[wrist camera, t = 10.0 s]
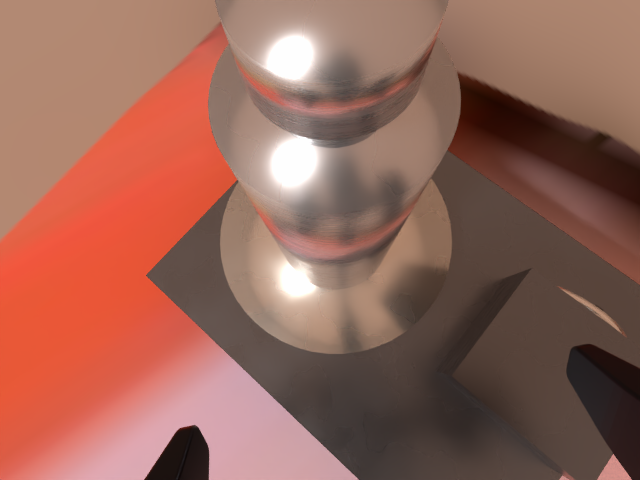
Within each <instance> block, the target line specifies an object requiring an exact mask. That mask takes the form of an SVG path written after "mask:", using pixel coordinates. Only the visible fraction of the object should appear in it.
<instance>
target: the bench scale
mask: <svg viewBox="0 0 640 480" xmlns="http://www.w3.org/2000/svg"><path fill="white" fill-rule="evenodd" d="M146 276H147V277H148V278H149V279H150V280H151V281H152V282H153V283H154V284H155V285H156V286H157V287H158V288H159V289H161V290H162V291H163V292H164V293H165V294H166V295H167V296H168V297H169V298H170V299H171V300H172V301H173V302H174V303H175V304H176V305H177V306H178V307H179V308H180V309H181V310H182V311H184V312H185V313H186V314H187V315H188V316H189V317H190V318H191V319H192V320H193V321H194V322H195V323H196V324H197V325H198V326H199V327H200V328H201V329H202V330H203V331H204V332H205V333H206V334H208V335H209V336H210V337H211V338H212V339H213V340H214V341H215V342H216V343H217V344H218V345H219V346H220V347H221V348H222V349H223V350H224V351H225V352H226V353H227V354H228V355H229V356H230V357H232V358H233V359H234V360H235V361H236V362H237V363H238V364H239V365H240V366H241V367H242V368H243V369H244V370H245V371H246V372H247V373H248V374H249V375H250V376H251V377H252V378H253V379H255V380H256V381H257V382H258V383H259V384H260V385H261V386H262V387H263V388H264V389H265V390H266V391H267V392H268V393H269V394H270V395H271V396H272V397H273V398H274V399H275V400H276V401H277V402H279V403H280V404H281V405H282V406H283V407H284V408H285V409H286V410H287V411H288V412H289V413H290V414H291V415H292V416H293V417H294V418H295V419H296V420H297V421H298V422H299V423H300V424H301V425H303V426H304V427H305V428H306V429H307V430H308V431H309V432H310V433H311V434H312V435H313V436H314V437H315V438H316V439H317V440H318V441H319V442H320V443H321V444H322V445H323V446H324V447H326V448H327V449H328V450H329V451H330V452H331V453H332V454H333V455H334V456H335V457H336V458H337V459H338V460H339V461H340V462H341V463H342V464H343V465H344V466H345V467H346V468H347V469H348V470H350V471H351V472H352V473H353V474H354V475H355V476H356V477H357V478H358V479H359V480H559V479H560V478H561V476H562V475H563V476H564V477H566V478H568V479H569V480H597V478H598V477H599V475H600V474H601V472H602V470H603V469H604V467H605V466H606V464H607V463H608V461H609V459H610V458H611V456H612V455H613V452H612V451H611V449H610V448H609V447H608V445H607V444H606V442H605V441H604V439H603V437H602V436H601V434H600V432H599V431H598V429H597V427H596V426H595V424H594V422H593V421H592V419H591V417H590V415H589V414H588V412H587V410H586V409H585V407H584V405H583V404H582V402H581V400H580V398H579V397H578V395H577V393H576V392H575V390H574V388H573V387H572V385H571V383H570V381H569V379H568V377H567V374H566V368H567V363H568V358H569V354H570V350H571V348H572V347H574V346H578V345H583V344H592V345H595V346H597V347H599V348H601V349H603V350H605V351H607V352H609V353H611V354H613V355H615V356H617V357H619V358H621V359H623V360H625V361H627V362H629V363H631V364H633V365H635V366H637V367H639V368H640V285H639V284H637V283H636V282H635V281H633V280H632V279H630V278H629V277H627V276H626V275H625V274H623V273H622V272H620V271H619V270H617V269H616V268H615V267H613V266H612V265H610V264H609V263H607V262H606V261H605V260H603V259H602V258H600V257H599V256H597V255H596V254H595V253H593V252H592V251H590V250H589V249H588V248H586V247H585V246H583V245H582V244H580V243H579V242H578V241H576V240H575V239H573V238H572V237H570V236H569V235H568V234H566V233H565V232H563V231H562V230H560V229H559V228H558V227H556V226H555V225H553V224H552V223H550V222H549V221H548V220H546V219H545V218H543V217H542V216H540V215H539V214H538V213H536V212H535V211H533V210H532V209H530V208H529V207H528V206H526V205H525V204H523V203H522V202H521V201H519V200H518V199H516V198H515V197H513V196H512V195H511V194H509V193H508V192H506V191H505V190H503V189H502V188H501V187H499V186H498V185H496V184H495V183H493V182H492V181H491V180H489V179H488V178H486V177H485V176H483V175H482V174H481V173H479V172H478V171H476V170H475V169H473V168H472V167H471V166H469V165H468V164H466V163H465V162H463V161H462V160H461V159H459V158H458V157H456V156H455V155H454V154H452V153H451V152H449V151H448V150H447V151H446V153H445V155H444V157H443V158H442V160H441V162H440V163H439V165H438V167H437V169H436V170H435V172H434V174H433V175H432V177H431V179H430V181H429V182H428V184H427V186H426V187H425V189H424V191H423V193H422V194H421V196H420V198H419V199H418V201H417V203H416V205H415V206H414V208H413V210H412V211H411V213H410V215H409V217H408V218H407V220H406V222H405V223H404V225H403V227H402V229H401V230H400V232H399V234H398V235H397V237H396V239H395V241H394V242H393V244H392V246H391V247H390V249H389V251H388V253H387V254H386V256H385V258H384V260H383V261H382V263H381V265H380V266H379V268H378V269H377V270H376V271H375V272H374V273H373V275H372V276H370V277H369V278H368V279H367V280H365V281H364V282H362V283H360V284H358V285H356V286H353V287H350V288H346V289H335V290H332V289H324V288H320V287H317V286H315V285H312V284H310V283H308V282H307V281H305V280H304V279H302V278H301V277H300V276H299V275H298V274H297V273H296V272H295V271H294V270H293V268H292V267H291V266H290V264H289V263H288V261H287V259H286V258H285V256H284V254H283V253H282V251H281V250H280V248H279V246H278V245H277V243H276V241H275V240H274V238H273V237H272V235H271V233H270V232H269V230H268V228H267V227H266V225H265V224H264V222H263V220H262V219H261V217H260V215H259V214H258V212H257V211H256V209H255V207H254V206H253V204H252V202H251V201H250V199H249V198H248V196H247V194H246V193H245V191H244V189H243V188H242V186H241V185H240V183H239V181H238V180H237V181H236V182H235V183H234V184H233V185H232V186H231V187H230V188H229V189H228V190H227V191H226V192H225V193H224V195H223V196H222V197H221V198H220V199H219V200H218V201H217V202H216V203H215V204H214V205H213V206H212V207H211V208H210V209H209V210H208V211H207V212H206V213H205V214H204V215H203V216H202V217H201V218H200V220H199V221H198V222H197V223H196V224H195V225H194V226H193V227H192V228H191V229H190V230H189V231H188V232H187V233H186V234H185V235H184V236H183V237H182V238H181V239H180V240H179V241H178V242H177V244H176V245H175V246H174V247H173V248H172V249H171V250H170V251H169V252H168V253H167V254H166V255H165V256H164V257H163V258H162V259H161V260H160V261H159V262H158V263H157V264H156V265H155V266H154V267H153V269H152V270H151V271H150V272H149V273H148V274H147V275H146Z"/></svg>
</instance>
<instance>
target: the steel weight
mask: <svg viewBox="0 0 640 480" xmlns="http://www.w3.org/2000/svg"><path fill="white" fill-rule="evenodd" d="M215 2H216V6H217V10H218V14H219V17H220V20H221V23H222V25H223V28H224V31H225V34H226V36H227V39H228V42H229V44H228V46H227V47H226V48H225V50H224V52H223V53H222V55H221V57H220V59H219V61H218V63H217V65H216V68H215V70H214V73H213V76H212V80H211V84H210V89H209V99H208V109H209V120H210V124H211V129H212V133H213V136H214V138H215V141H216V143H217V146H218V148H219V150H220V151H221V153H222V155H223V157H224V158H225V160H226V162H227V163H228V165H229V167H230V168H231V170H232V172H233V173H234V175H235V176H236V178H237V180H238V181H239V183H240V185H241V186H242V188H243V189H244V191H245V193H246V194H247V196H248V198H249V199H250V201H251V202H252V204H253V206H254V207H255V209H256V211H257V212H258V214H259V215H260V217H261V219H262V220H263V222H264V224H265V225H266V227H267V228H268V230H269V232H270V233H271V235H272V237H273V238H274V240H275V241H276V243H277V245H278V246H279V248H280V250H281V251H282V253H283V254H284V256H285V258H286V259H287V261H288V263H289V264H290V266H291V267H292V268H293V270H294V271H295V272H296V273H297V274H298V275H299V276H300V277H301V278H302V279H304V280H305V281H307V282H308V283H310V284H312V285H315V286H317V287H320V288H324V289H332V290H335V289H346V288H350V287H353V286H356V285H358V284H360V283H362V282H364V281H365V280H367V279H368V278H369V277H370V276H372V275H373V273H374V272H375V271H376V270H377V269H378V268H379V266H380V265H381V263H382V261H383V260H384V258H385V256H386V254H387V253H388V251H389V249H390V247H391V246H392V244H393V242H394V241H395V239H396V237H397V235H398V234H399V232H400V230H401V229H402V227H403V225H404V223H405V222H406V220H407V218H408V217H409V215H410V213H411V211H412V210H413V208H414V206H415V205H416V203H417V201H418V199H419V198H420V196H421V194H422V193H423V191H424V189H425V187H426V186H427V184H428V182H429V181H430V179H431V177H432V175H433V174H434V172H435V170H436V169H437V167H438V165H439V163H440V162H441V160H442V158H443V157H444V155H445V153H446V151H447V149H448V147H449V146H450V144H451V142H452V140H453V137H454V134H455V131H456V129H457V125H458V120H459V115H460V105H461V94H460V84H459V80H458V76H457V72H456V68H455V66H454V64H453V61H452V59H451V57H450V55H449V53H448V51H447V50H446V48H445V46H444V45H443V43H442V42H441V41H440V39H439V38H438V37H437V35H438V32H439V29H440V26H441V23H442V20H443V17H444V14H445V11H446V8H447V4H448V0H215Z"/></svg>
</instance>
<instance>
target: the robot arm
mask: <svg viewBox="0 0 640 480" xmlns="http://www.w3.org/2000/svg"><path fill="white" fill-rule="evenodd" d="M566 374H567V377H568V379H569V381H570V383H571V385H572V387H573V388H574V390H575V392H576V393H577V395H578V397H579V398H580V400H581V402H582V404H583V405H584V407H585V409H586V410H587V412H588V414H589V415H590V417H591V419H592V421H593V422H594V424H595V426H596V427H597V429H598V431H599V432H600V434H601V436H602V437H603V439H604V441H605V442H606V444H607V445H608V447H609V448H610V449H611V451H612V452H613V454H614V455H615V457H616V458H617V459H618V461H619V462H620V463H621V465H622V466H623V468H624V469H625V470H626V472H627V473H628V475H629V476H630V477H631V479H632V480H640V368H639V367H637V366H635V365H633V364H631V363H629V362H627V361H625V360H623V359H621V358H619V357H617V356H615V355H613V354H611V353H609V352H607V351H605V350H603V349H601V348H599V347H597V346H595V345H592V344H583V345H578V346H574V347H572V348H571V350H570V354H569V358H568V363H567V368H566ZM144 480H209V448H208V445H207V443H206V441H205V439H204V437H203V435H202V433H201V431H200V430H199V428H198V427H197V426H196V425H192V426H188V427H183V428H180V429H179V430H177V432H176V433H175V434H174V436H173V437H172V439H171V440H170V442H169V443H168V445H167V446H166V448H165V449H164V451H163V452H162V454H161V455H160V457H159V458H158V460H157V461H156V463H155V464H154V466H153V467H152V469H151V470H150V472H149V473H148V475H147V476H146V478H145V479H144Z"/></svg>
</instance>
